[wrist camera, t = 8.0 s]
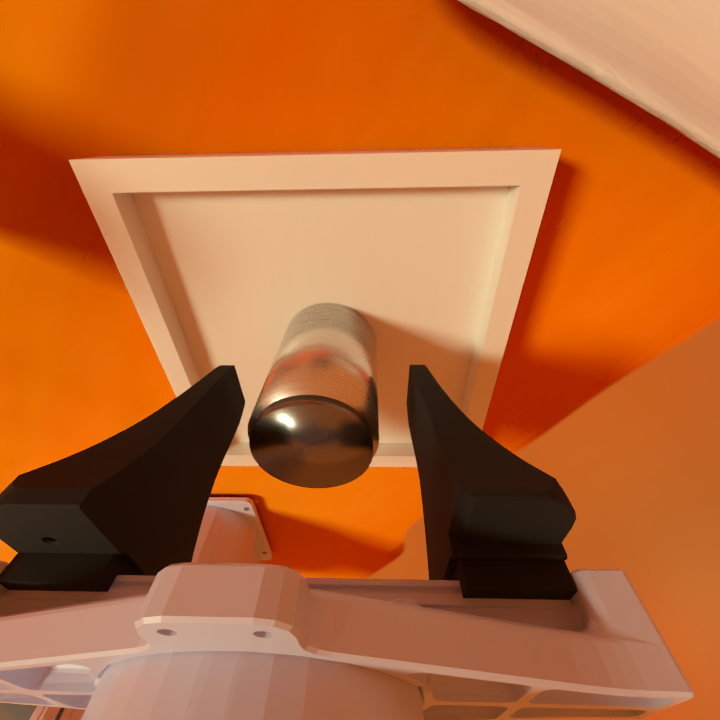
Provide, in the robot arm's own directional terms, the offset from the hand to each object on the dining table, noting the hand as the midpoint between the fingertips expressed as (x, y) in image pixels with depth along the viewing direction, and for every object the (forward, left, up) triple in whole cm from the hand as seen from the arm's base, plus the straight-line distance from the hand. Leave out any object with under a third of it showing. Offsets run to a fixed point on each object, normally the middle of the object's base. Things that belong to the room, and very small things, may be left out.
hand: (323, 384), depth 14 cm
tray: (0, 0, -4) cm, 4 cm away
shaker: (0, 0, -3) cm, 3 cm away
